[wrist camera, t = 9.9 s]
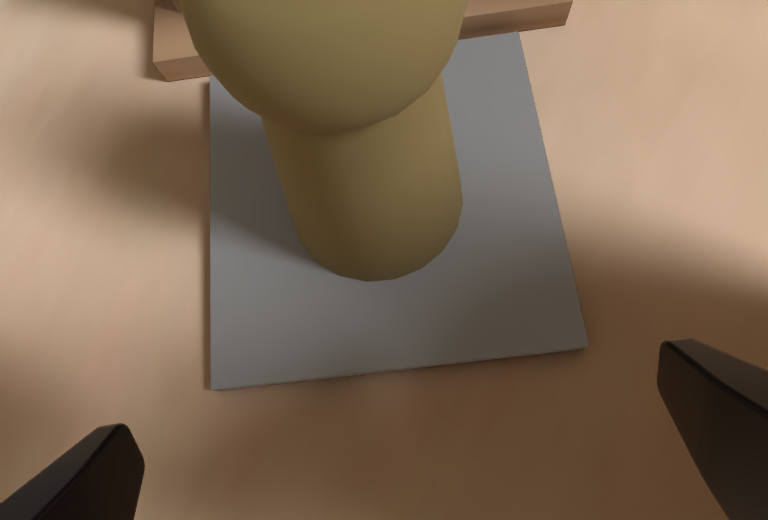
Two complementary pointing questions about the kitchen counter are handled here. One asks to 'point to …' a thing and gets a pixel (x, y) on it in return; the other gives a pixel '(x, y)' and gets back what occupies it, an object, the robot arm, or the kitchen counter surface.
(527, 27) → the switch panel
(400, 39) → the cork
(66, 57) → the kitchen counter surface
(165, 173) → the kitchen counter surface
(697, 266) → the kitchen counter surface
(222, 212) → the mat
